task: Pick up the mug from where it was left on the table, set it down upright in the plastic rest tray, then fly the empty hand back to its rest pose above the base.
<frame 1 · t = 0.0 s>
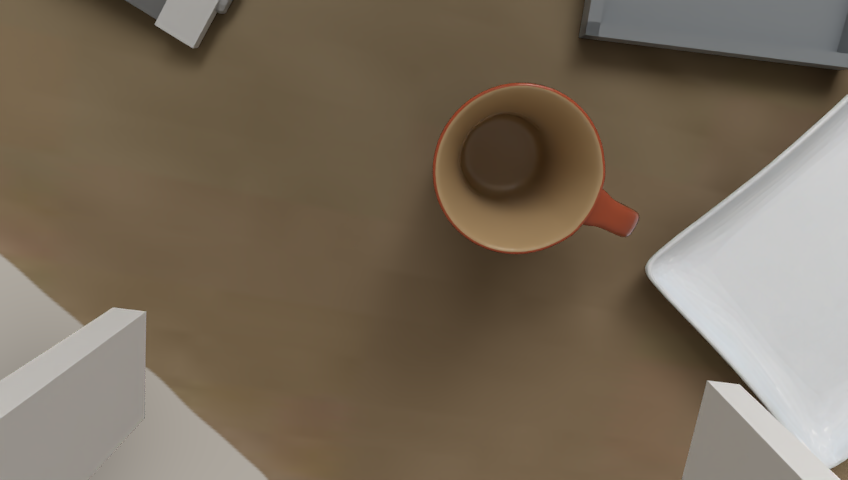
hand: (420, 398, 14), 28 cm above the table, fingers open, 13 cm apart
salad plate: (834, 261, 42), on the table
mug: (519, 163, 41), on the table
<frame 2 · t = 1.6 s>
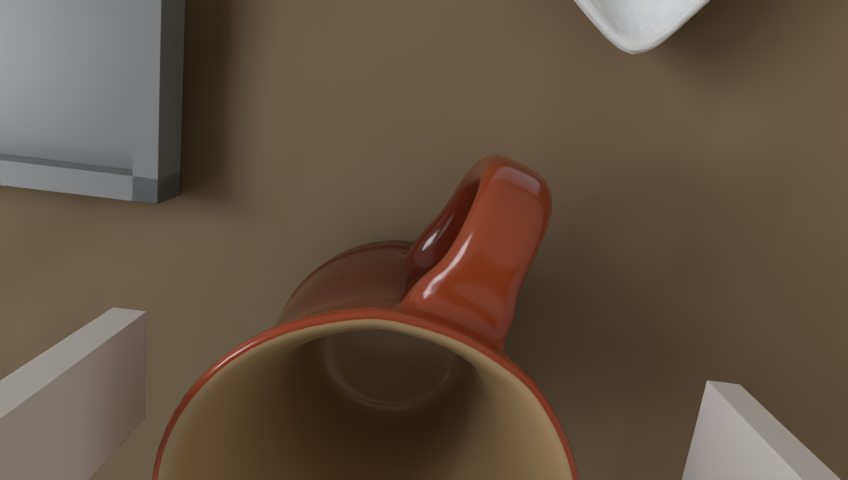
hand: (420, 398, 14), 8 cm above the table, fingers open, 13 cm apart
mug: (412, 289, 22), on the table
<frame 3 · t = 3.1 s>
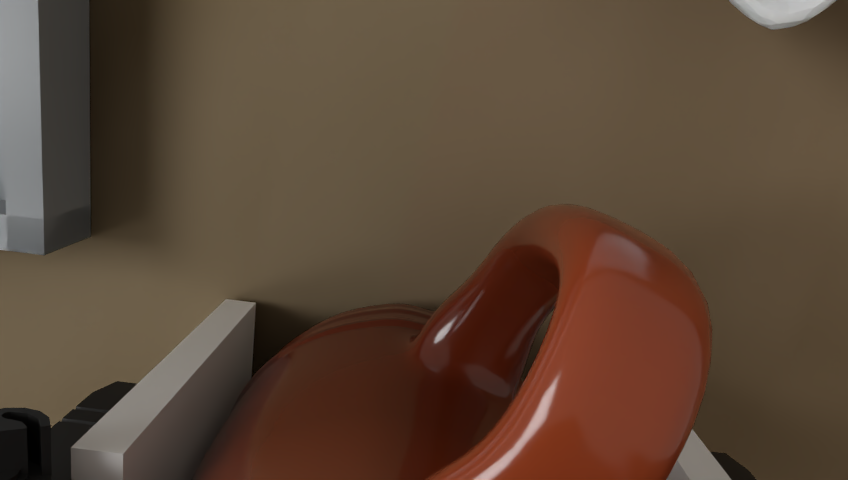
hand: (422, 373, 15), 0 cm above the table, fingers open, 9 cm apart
mug: (420, 366, 16), on the table
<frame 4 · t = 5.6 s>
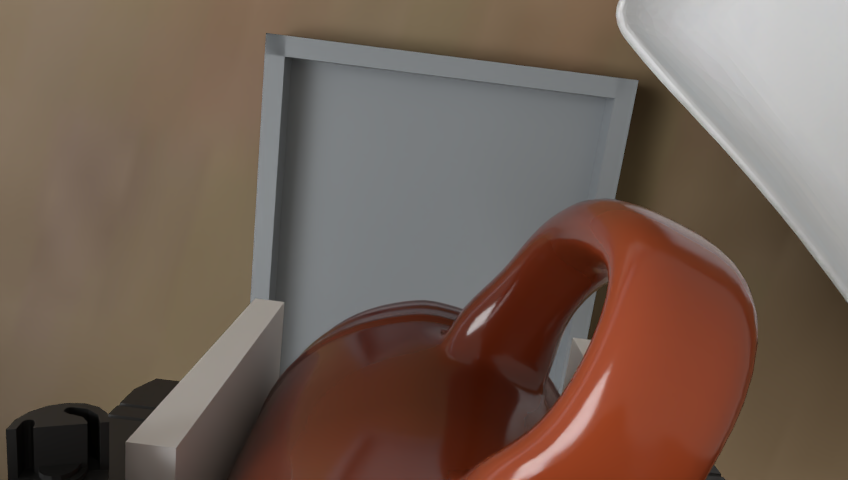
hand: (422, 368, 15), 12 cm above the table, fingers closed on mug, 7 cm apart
rest tray: (427, 250, 28), on the table
mug: (443, 362, 16), point 12 cm above the table, touching gripper
when the fingers open (2 cm above the table, at t = 7.8 s): mug drops 1 cm, resting on rest tray.
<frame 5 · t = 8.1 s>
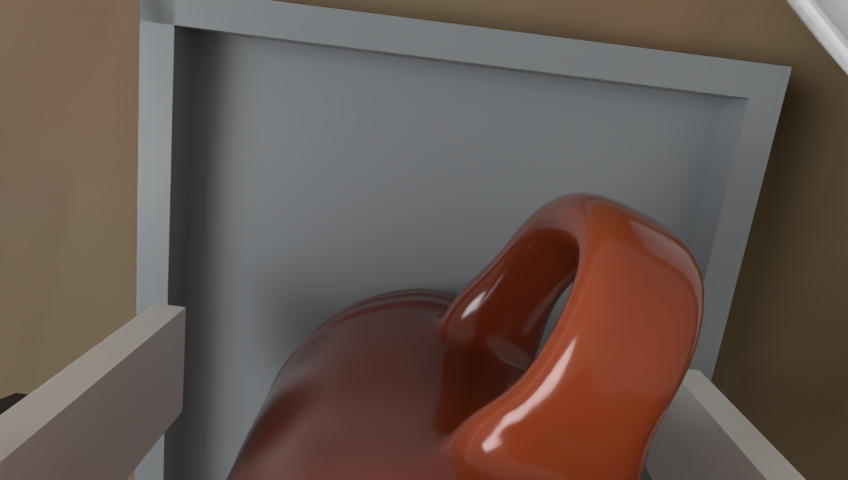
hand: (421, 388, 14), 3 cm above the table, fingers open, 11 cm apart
rest tray: (423, 339, 17), on the table
mug: (440, 348, 17), resting on rest tray
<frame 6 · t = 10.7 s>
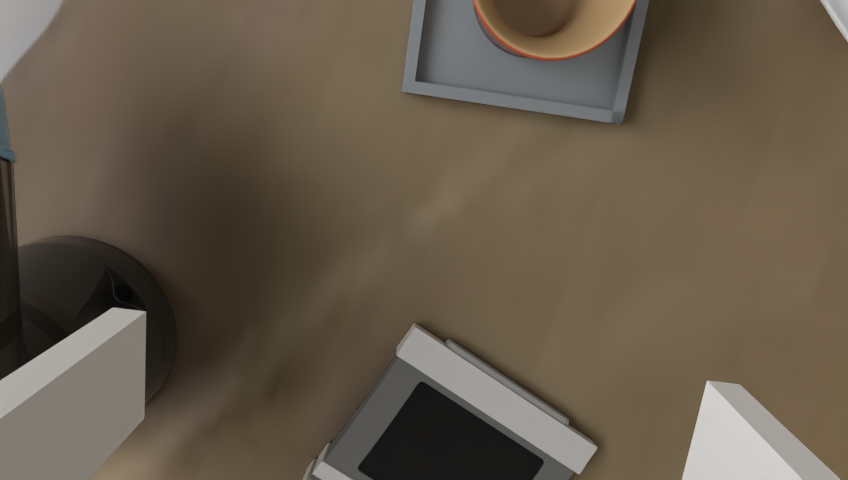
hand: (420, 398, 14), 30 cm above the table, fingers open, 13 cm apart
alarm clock: (448, 447, 49), on the table
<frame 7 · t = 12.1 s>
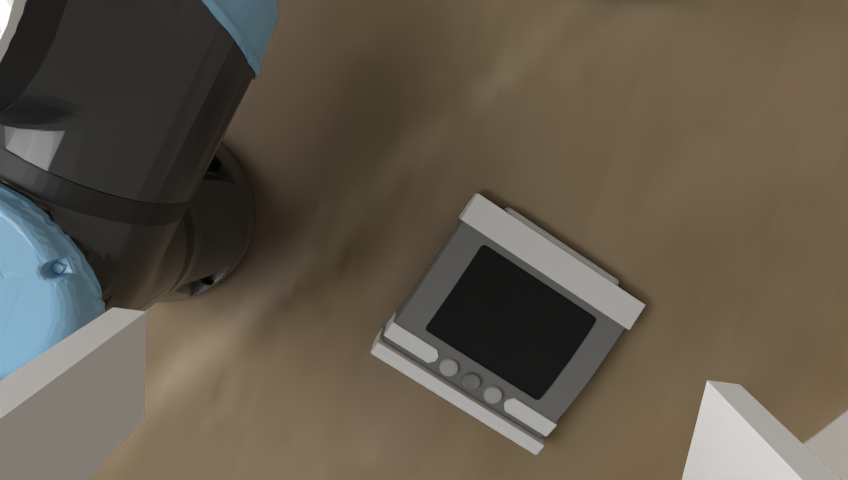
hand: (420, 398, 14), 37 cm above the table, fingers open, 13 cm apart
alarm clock: (505, 315, 53), on the table
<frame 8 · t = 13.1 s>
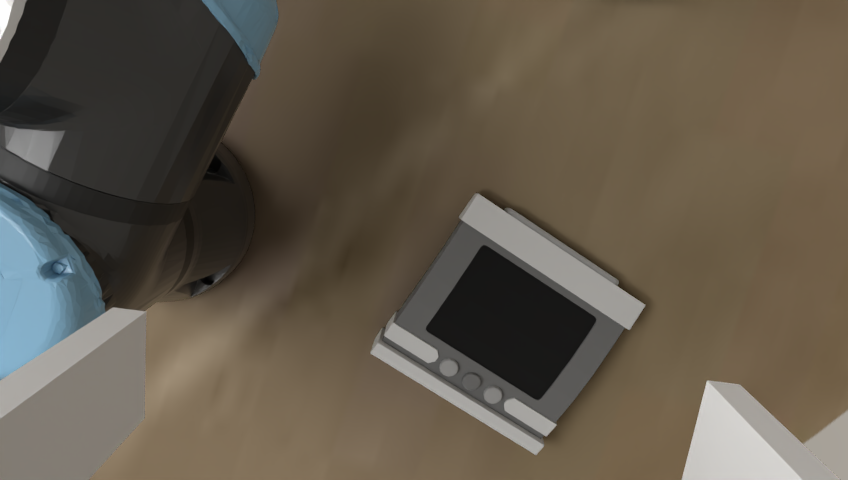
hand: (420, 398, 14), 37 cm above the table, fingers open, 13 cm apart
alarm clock: (505, 315, 53), on the table
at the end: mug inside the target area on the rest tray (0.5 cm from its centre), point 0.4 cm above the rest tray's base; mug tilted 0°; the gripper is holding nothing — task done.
